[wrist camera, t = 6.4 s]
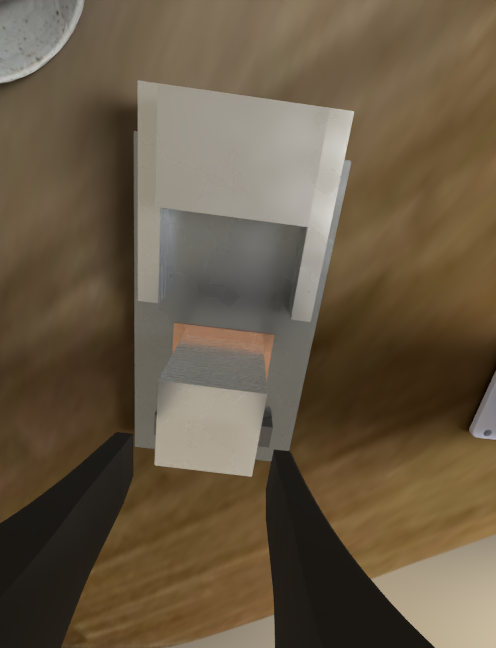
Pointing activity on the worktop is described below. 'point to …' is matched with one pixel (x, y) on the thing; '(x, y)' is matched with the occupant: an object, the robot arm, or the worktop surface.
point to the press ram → (237, 155)
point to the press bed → (230, 280)
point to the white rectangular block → (211, 406)
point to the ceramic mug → (33, 33)
